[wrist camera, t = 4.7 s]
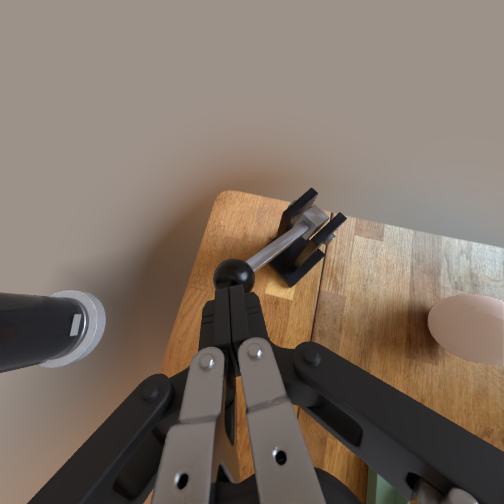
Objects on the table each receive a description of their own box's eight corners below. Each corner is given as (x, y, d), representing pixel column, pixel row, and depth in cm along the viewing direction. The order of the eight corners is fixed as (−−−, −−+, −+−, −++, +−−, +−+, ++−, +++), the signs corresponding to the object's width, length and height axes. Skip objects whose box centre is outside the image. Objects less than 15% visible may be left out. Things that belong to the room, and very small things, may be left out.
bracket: (291, 288, 36) (317, 269, 20) (258, 254, 37) (260, 213, 22) (323, 256, 37) (370, 216, 22) (290, 225, 39) (312, 168, 23)
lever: (227, 314, 16) (239, 298, 14) (201, 283, 17) (208, 263, 15) (318, 236, 25) (335, 218, 23) (299, 218, 26) (313, 198, 24)
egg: (443, 367, 32) (542, 396, 21) (399, 318, 34) (469, 321, 23) (480, 331, 33) (592, 340, 22) (436, 286, 35) (518, 274, 24)
